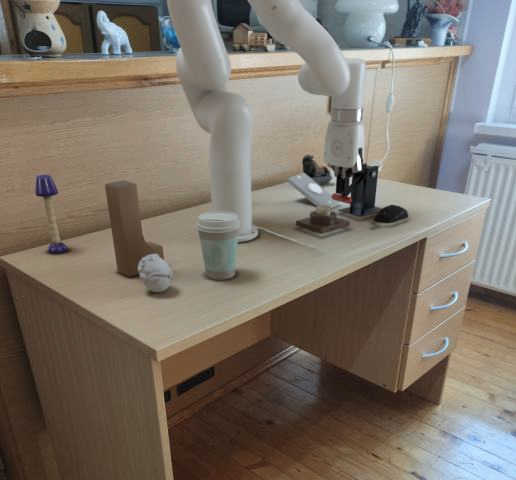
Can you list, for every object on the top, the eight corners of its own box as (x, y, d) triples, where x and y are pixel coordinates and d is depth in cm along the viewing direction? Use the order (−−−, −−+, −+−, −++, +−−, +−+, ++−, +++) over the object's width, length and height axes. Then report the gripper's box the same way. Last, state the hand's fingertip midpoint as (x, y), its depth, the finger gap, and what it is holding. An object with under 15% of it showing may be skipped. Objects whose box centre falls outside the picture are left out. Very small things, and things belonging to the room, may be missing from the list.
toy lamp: (44, 249, 122) (28, 175, 114) (64, 245, 125) (49, 172, 117) (52, 255, 119) (36, 179, 111) (72, 250, 122) (58, 175, 113)
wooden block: (153, 261, 115) (143, 175, 106) (165, 266, 113) (156, 179, 104) (117, 272, 110) (103, 183, 101) (129, 278, 107) (116, 187, 98)
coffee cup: (191, 274, 108) (186, 216, 102) (222, 263, 113) (220, 207, 108) (218, 286, 103) (215, 225, 97) (250, 274, 108) (249, 216, 102)
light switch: (326, 206, 146) (288, 174, 149) (317, 223, 150) (280, 192, 153) (342, 200, 152) (305, 169, 155) (332, 216, 156) (296, 186, 159)
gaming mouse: (361, 226, 136) (362, 210, 134) (391, 214, 145) (393, 199, 143) (383, 231, 132) (385, 215, 130) (412, 218, 141) (414, 203, 139)
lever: (350, 205, 137) (347, 198, 135) (333, 201, 141) (330, 194, 139) (378, 174, 139) (376, 167, 137) (361, 170, 143) (358, 163, 142)
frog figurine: (158, 281, 105) (154, 247, 102) (181, 290, 101) (178, 255, 98) (133, 291, 101) (128, 256, 98) (156, 300, 97) (152, 264, 94)
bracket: (360, 220, 140) (364, 170, 134) (338, 214, 146) (341, 165, 139) (384, 213, 146) (390, 165, 139) (362, 207, 151) (366, 160, 145)
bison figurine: (321, 180, 181) (323, 149, 176) (336, 184, 176) (338, 152, 171) (295, 186, 174) (296, 154, 169) (311, 190, 169) (312, 157, 164)
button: (323, 218, 130) (323, 209, 129) (312, 215, 132) (313, 206, 131) (333, 215, 132) (334, 207, 131) (323, 212, 134) (323, 204, 133)
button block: (320, 237, 128) (321, 221, 126) (295, 229, 134) (296, 213, 132) (349, 229, 133) (350, 213, 131) (323, 221, 139) (324, 206, 138)
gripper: (314, 115, 131) (311, 190, 141) (359, 120, 121) (353, 201, 130) (335, 112, 135) (331, 185, 145) (381, 117, 125) (374, 196, 134)
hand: (342, 192), depth 137 cm, fingers closed
